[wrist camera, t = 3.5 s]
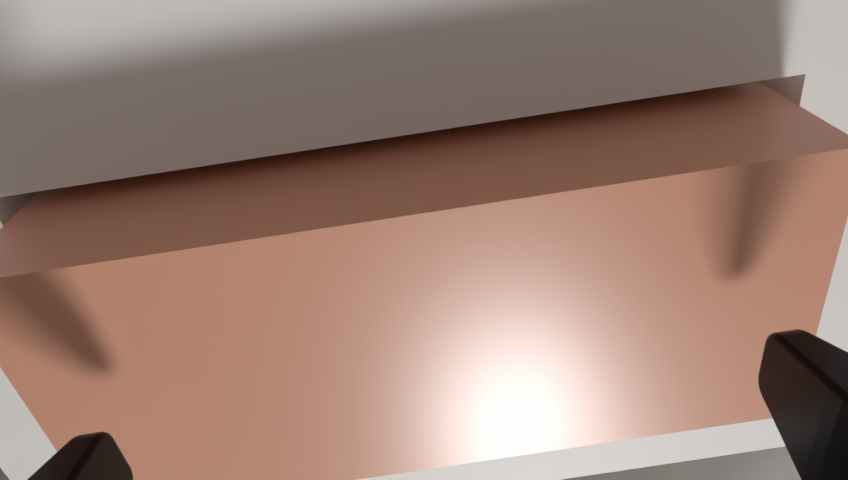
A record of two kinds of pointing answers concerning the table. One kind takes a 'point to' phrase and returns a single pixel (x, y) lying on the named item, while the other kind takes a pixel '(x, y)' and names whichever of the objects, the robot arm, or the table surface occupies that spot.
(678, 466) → the table surface
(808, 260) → the salmon orange rectangular block
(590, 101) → the white tray
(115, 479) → the robot arm
